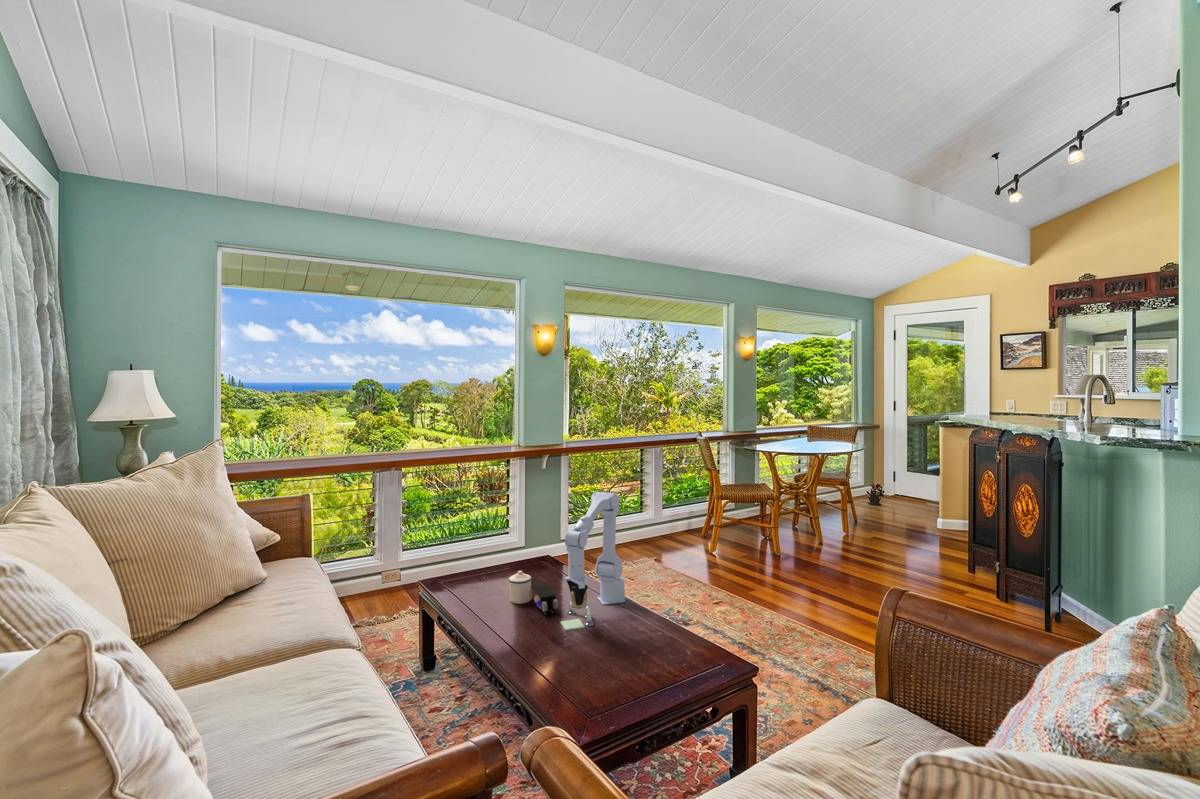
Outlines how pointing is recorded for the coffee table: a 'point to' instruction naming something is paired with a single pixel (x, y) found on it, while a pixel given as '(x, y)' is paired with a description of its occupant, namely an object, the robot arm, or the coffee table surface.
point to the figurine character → (545, 598)
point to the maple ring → (573, 603)
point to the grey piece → (587, 615)
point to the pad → (572, 624)
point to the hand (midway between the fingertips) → (576, 601)
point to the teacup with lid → (520, 588)
